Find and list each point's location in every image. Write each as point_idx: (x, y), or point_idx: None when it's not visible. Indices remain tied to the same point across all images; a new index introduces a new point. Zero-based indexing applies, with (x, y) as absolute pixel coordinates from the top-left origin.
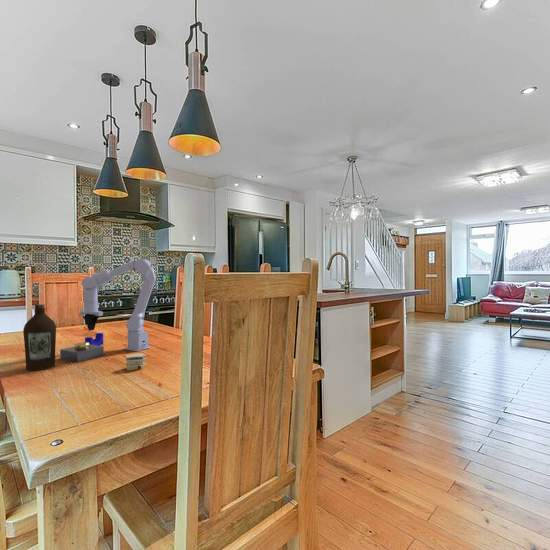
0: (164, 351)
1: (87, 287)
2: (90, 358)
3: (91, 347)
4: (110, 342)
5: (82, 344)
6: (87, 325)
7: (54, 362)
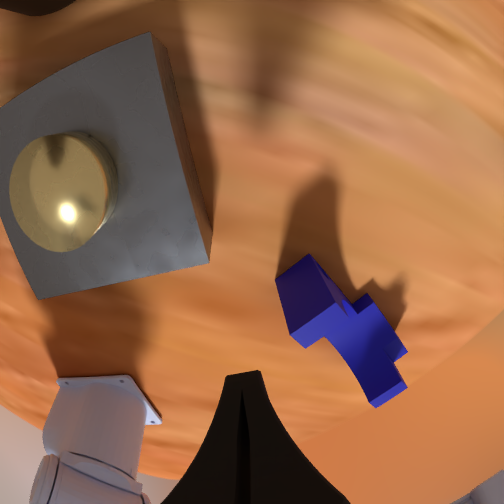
0: (26, 406)
1: None
2: None
3: None
4: (351, 385)
5: (15, 185)
6: (262, 413)
7: (17, 12)
